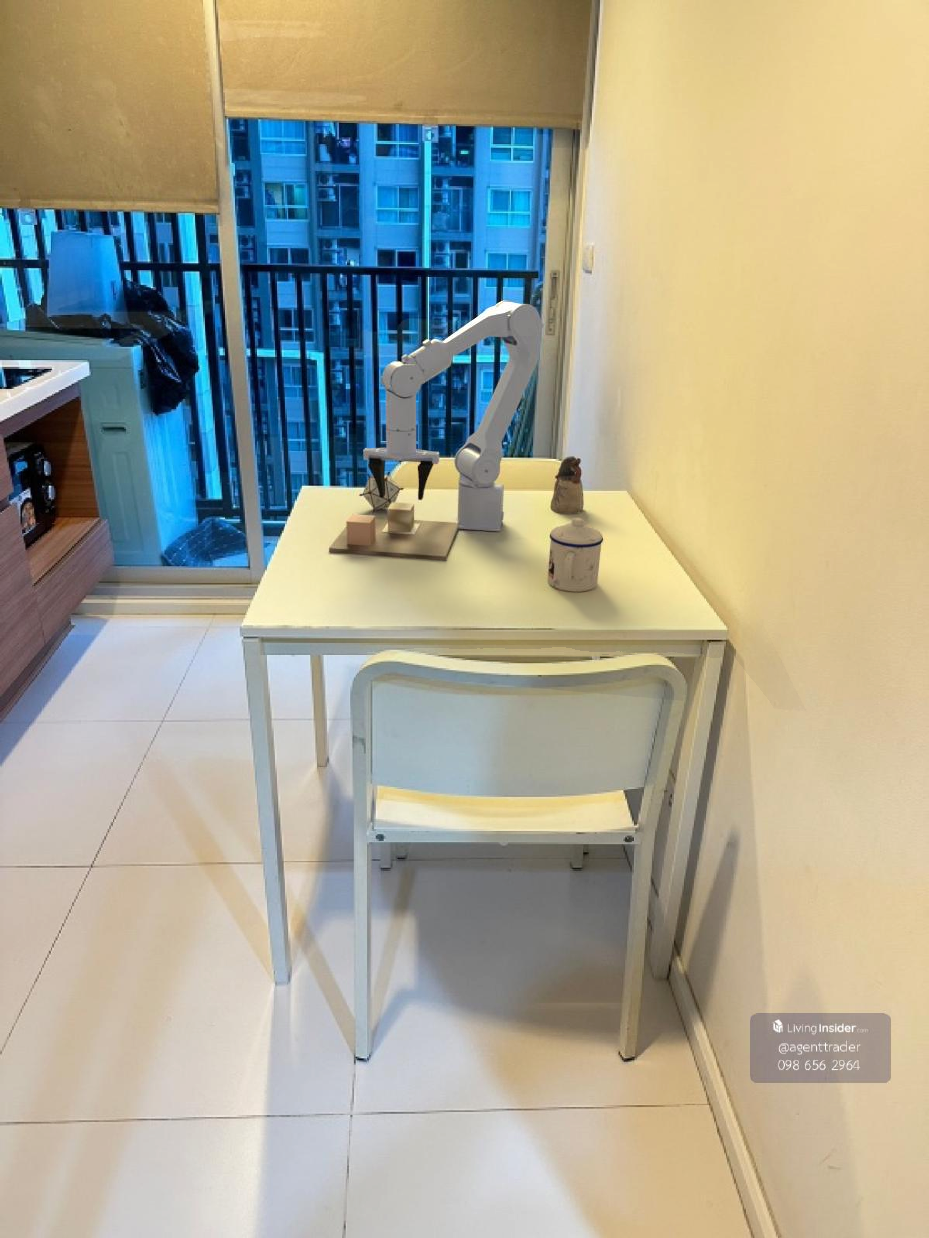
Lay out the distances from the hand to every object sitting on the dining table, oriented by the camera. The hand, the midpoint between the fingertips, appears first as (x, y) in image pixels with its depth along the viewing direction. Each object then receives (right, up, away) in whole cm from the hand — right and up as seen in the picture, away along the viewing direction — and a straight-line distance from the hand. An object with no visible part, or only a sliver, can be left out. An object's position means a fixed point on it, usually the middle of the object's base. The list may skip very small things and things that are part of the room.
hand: (401, 497), depth 164 cm
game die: (-6, 0, +16) cm, 17 cm away
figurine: (+35, 0, +21) cm, 41 cm away
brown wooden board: (-1, -8, -1) cm, 8 cm away
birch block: (0, -6, +3) cm, 6 cm away
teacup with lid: (+31, -18, -20) cm, 41 cm away
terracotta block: (-7, -9, -5) cm, 13 cm away
